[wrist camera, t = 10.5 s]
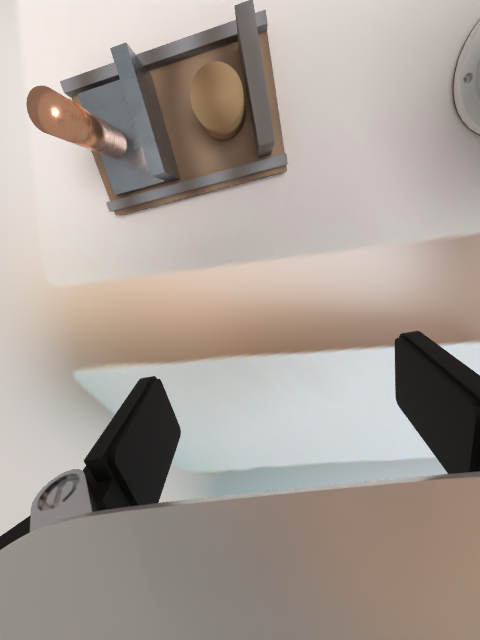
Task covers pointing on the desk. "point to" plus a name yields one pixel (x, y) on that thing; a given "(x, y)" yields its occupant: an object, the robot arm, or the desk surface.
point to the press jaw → (114, 125)
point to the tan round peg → (218, 100)
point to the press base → (183, 125)
